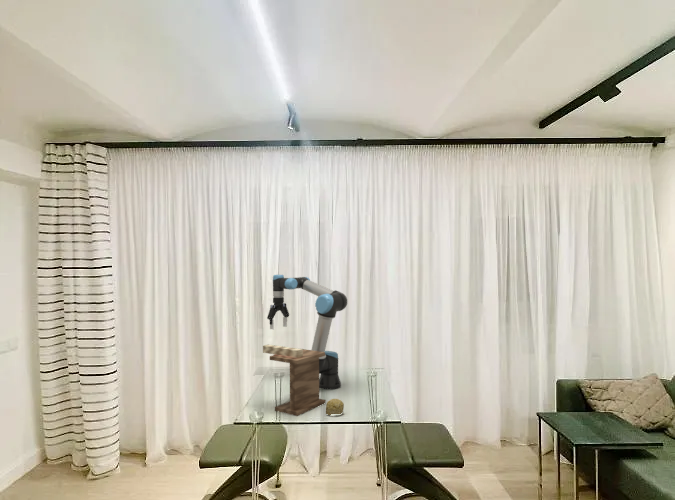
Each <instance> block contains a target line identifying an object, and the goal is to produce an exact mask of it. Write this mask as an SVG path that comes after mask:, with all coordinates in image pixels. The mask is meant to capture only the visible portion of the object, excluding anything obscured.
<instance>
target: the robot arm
mask: <svg viewBox="0 0 675 500" xmlns="http://www.w3.org/2000/svg"><path fill="white" fill-rule="evenodd" d="M296 289H302V290H303V291H305V292H309V293H310V294H312V295H315V296H316V297H317V298H316V300H315V310H316V311H317V312H316V313H317V315H318V318H317V319H318V320H317V323H316V328H315V333H314V336H313V341H312V345H311V349H310V350H313V351H320V352H325V356H322V357H319V389H320V390H321V389H323V390H336V389H337V390H338V389H339V388H341V387H342V382H341V380H340V376H339V353H337V351H332V350H326V348H327V343H328V340H329V335H330V330H331V327H332V321H333V319H334V318H336V315H337V312H341V311H344V310H345V309H346V308H347V305H348V298H347V296H346V295H345V294H344V293H343V292H341V291H339V290H332V289H330V288H327V287H326V286H323V285H322V284H319V283H317V282H314V281H312V280H311V279H310V278H309V277H307V276H299V277H285V276H284V274H274V275H273V276H272V303H273V304H270V306H269V307H270V308H269V311H268V315H267V317H266V318H267V320H269V330H275V329H274V328H275V327H274V326H275V320H274V318H275V317H276V314H277V312H279V311H280V313H281V314H282V316H283V317H282V327H285V328H286V327H287V326H288V318H289V316H290V313H289V310H288V307H287V303H285V298H284V297H285V290H296Z"/></svg>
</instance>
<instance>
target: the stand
mask: <svg viewBox="0 0 675 500" xmlns="http://www.w3.org/2000/svg"><path fill="white" fill-rule="evenodd" d="M302 349H303V357H299V358H295V357H288V356H282V355H275V354H272V355H270V356H269V361H274V362H275V361H276V362H280V363H286V364H287V363H288V364H289V401H287V402H285V403H283V404H280V405H277V406H275V407H274V411H275V412H278V411H279V412H278V413H283V414H287V415H290V416H296V417H298V416H300V415H303V414H305V413H307V412H310V411H311V410H314V409H317V408H318V406H319V407H321V406H323V405H325V404H326V399H323V398H320V388H319V379H320V374H319V357H322V356H325V352H320V351H313V350H311V349H304V348H302ZM324 403H325V404H324ZM322 404H323V405H322ZM320 405H321V406H320Z"/></svg>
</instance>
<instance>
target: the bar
mask: <svg viewBox="0 0 675 500" xmlns="http://www.w3.org/2000/svg"><path fill="white" fill-rule="evenodd" d="M303 349H304V348H298V347H297V348H296V347H288V346H283V345H282V346H281V345H276V344H275V345H274V344H265V345H262V353H264V354H270V355H271V354H272V355H274V354H275V355H282V356H288V357H295V358H299V357H303Z"/></svg>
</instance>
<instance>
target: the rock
mask: <svg viewBox="0 0 675 500" xmlns="http://www.w3.org/2000/svg"><path fill="white" fill-rule="evenodd" d="M344 408H345V403H344V401H342V399H339V398H331V399H329V400H328V401H327V402H326V403H325V415H326V414H328V415H331V414H341V413H342V412H343V413H344ZM328 415H327V416H328Z"/></svg>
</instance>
